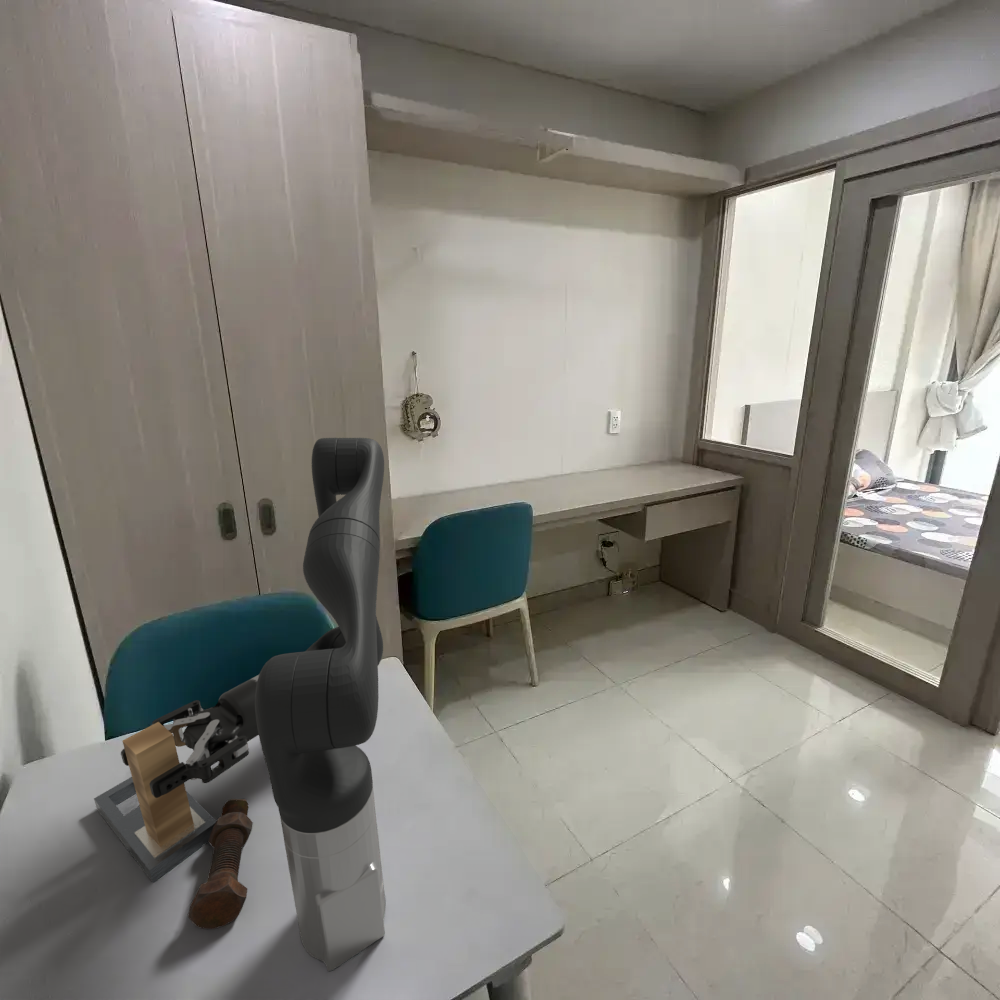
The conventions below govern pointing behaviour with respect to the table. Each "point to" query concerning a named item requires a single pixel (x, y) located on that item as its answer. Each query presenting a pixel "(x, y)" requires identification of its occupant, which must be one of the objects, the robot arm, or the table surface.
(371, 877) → the robot arm
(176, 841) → the socket plate
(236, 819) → the bolt
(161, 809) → the wooden peg
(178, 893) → the table surface
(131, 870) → the table surface
